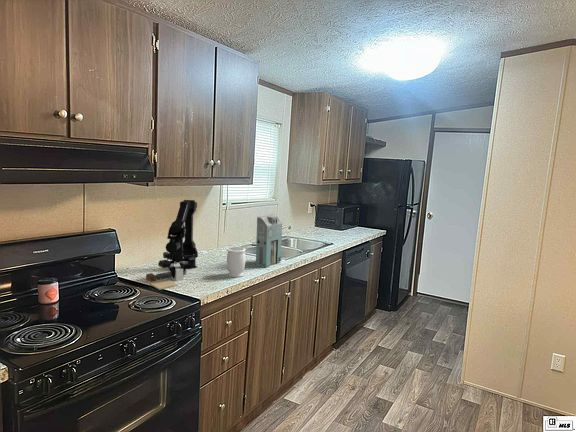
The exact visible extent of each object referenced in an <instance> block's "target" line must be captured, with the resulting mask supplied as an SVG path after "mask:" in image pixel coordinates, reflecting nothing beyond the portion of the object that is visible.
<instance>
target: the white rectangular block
mask: <svg viewBox="0 0 576 432" xmlns="http://www.w3.org/2000/svg"><path fill="white" fill-rule="evenodd" d="M171 280H173V281H175V282H180V281H183V280H184V275H183V269H182V268H180V266H175V278H173V277H171Z"/></svg>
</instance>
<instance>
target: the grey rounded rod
mask: <svg viewBox="0 0 576 432" xmlns="http://www.w3.org/2000/svg"><path fill="white" fill-rule="evenodd" d="M186 274H187V269H186V270H185V272H184V274H183V276H184V275H186ZM155 275H156V280H163V279H168V278H172V275H171V272H170V271H166V272H161V273H157V274H155Z"/></svg>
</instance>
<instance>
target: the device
mask: <svg viewBox="0 0 576 432" xmlns="http://www.w3.org/2000/svg"><path fill="white" fill-rule="evenodd" d="M282 234H283V222H282V220H281V219H280V217H279V216H278V215H276V214H273V213H272V214H266V215H261V216H257V217H256V242H255V243H256V244H255V245H256V249H255V251H256V252H255V266H256V267H260V268H265V269H266V268H269V267H271V266H274V265H277V264H278V263H281V262H282V240H283V239H282V236H283V235H282Z"/></svg>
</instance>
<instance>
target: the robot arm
mask: <svg viewBox="0 0 576 432" xmlns="http://www.w3.org/2000/svg"><path fill="white" fill-rule="evenodd" d="M197 208H198V202H197V201H196V200H194V199H183V200H182V201H179V209H178V211H177V214H176V218H175V220H174V221H173V222H172V223H171V225H170V226H169V228H168V232H167V240H169V242H167V243H166V244H165V251H164V252H163V253H162V256H163V260H162V259H161V260H159V262H158V267H160V268H162V269H167V268H168V270H169V272H171V275H172V277H173V278H175V267H176V266H175V265H176V264H179V267H180V268H182V269H183V274H184V272H185V270H186V271H187V270H189V269H195V268H198V266H197V265H196V262H197V261H196V259H197V258H198V257H199V252H198V249H197V247H196V243H195V241H194V214H196V211H197ZM184 275H185V274H184ZM172 277H171V278H172Z"/></svg>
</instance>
